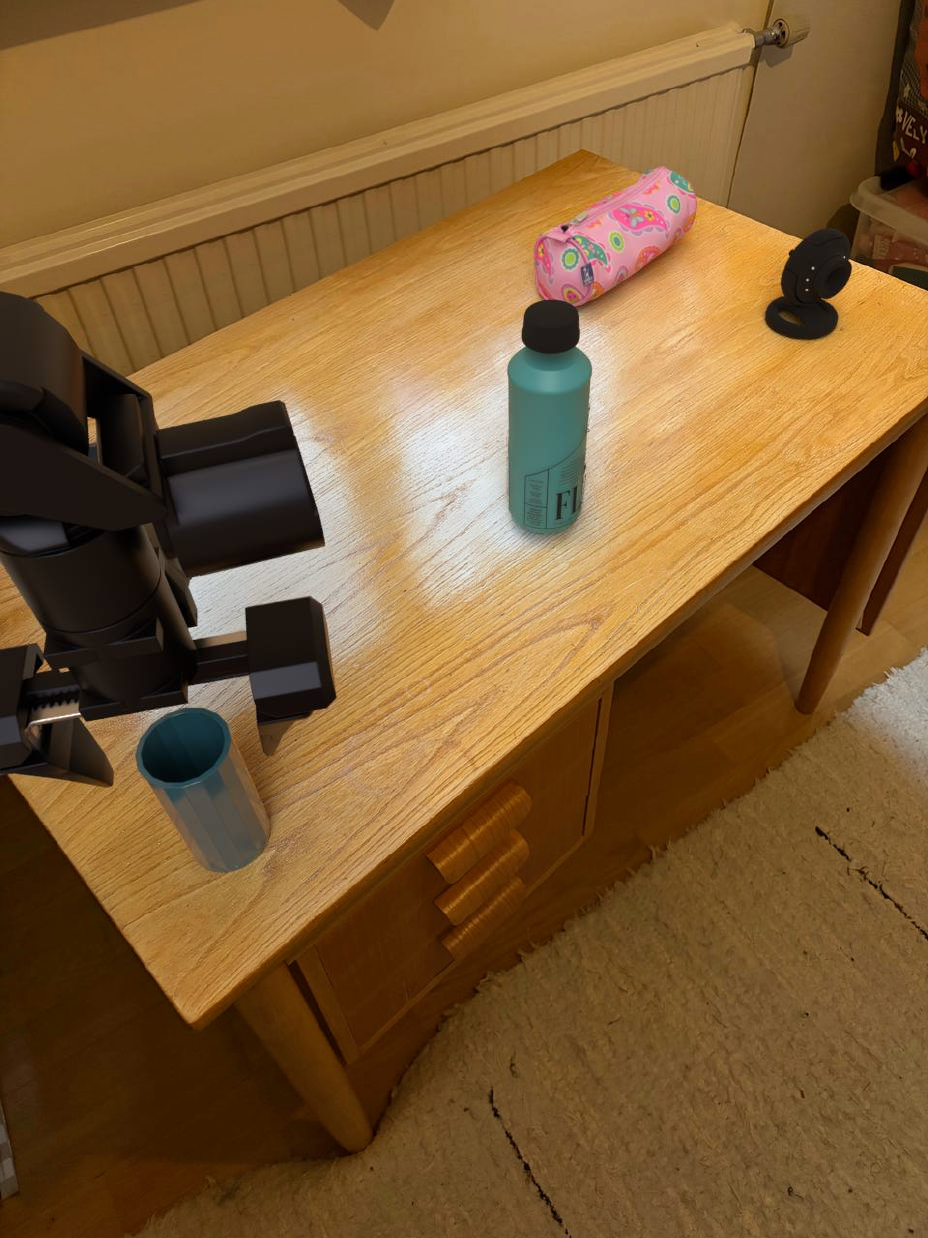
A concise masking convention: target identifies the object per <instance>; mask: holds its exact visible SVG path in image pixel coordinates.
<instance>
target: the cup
mask: <svg viewBox="0 0 928 1238" xmlns="http://www.w3.org/2000/svg"><path fill="white" fill-rule="evenodd" d="M134 755H135V762H136V768H137V771H138V773H139V774H140V776H141V778H142V780H143V781H144V782H145V785H147V787H148V788H149V790H150V792H151V793H152V795H153V796H154V799H155V800H156V802H157V803H158V805H159V806H160V808H161V810H162V811H163V812H164V814H165V816H166V817H167V819H168V821H169V822H170V824H171V825H172V827H173V828H174V830H175V831H176V833H177V834H178V836H179V838H180V840H181V841H182V842H183V844H184V846H185V847H186V849H187V851H188V852H189V854H190V855H191V856H192V858H193V859H194V860H195V862H196V863H198V865H200V866H201V867H202V868H204V869H206V870H208V871H211V872H214V873H231V872H235V871H238V870H241V869H243V868H245V867H247V866H248V865H250V864H251V863H253V862H254V861H255V860H256V859H258V858H259V856H260V855H261V854H262V853H263V851H264V850H265V848H266V846H267V844H268V842H269V839H270V836H271V822H270V817H269V816H268V812H267V810H266V807H265V805H264V803H263V800H262V798H261V796H260V794H259V791H258V789H257V786H256V785H255V782H254V780H253V777H252V776H251V772H250V771H249V769H248V766H247V765H246V764H247V763H246V762H245V760H244V757H243V755H242V753H241V750H240V749H239V746H238V744H237V742H236V739H235V737H234V735H233V733H232V729H231V728H230V725H229V724H228V722H227V721H226V720H225V719H224V718H223V717H222V716H221V715H220V714H219V713H218V712H215V711H213V710H210V709H207V708H205V707H183V708H178V709H175V710H173V711H169V712H167V713H165V714H164V715H162V716H161V717H159V718H158V719H157V720H155V721H154V722H152V723H151V724H149V726H148V728H147V729H146V730H145V731H144V733H143V734H142V735H141V737H140V738H139V740H138V743H137V748H136V750H135V754H134Z"/></svg>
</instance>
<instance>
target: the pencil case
mask: <svg viewBox="0 0 928 1238" xmlns="http://www.w3.org/2000/svg"><path fill="white" fill-rule="evenodd" d="M697 208H698V199H697V195H696V191H695V188H694V187H693V185H692V184H691V182H690V181H689V180H688V179H687V178H686V177H684V176H683V175H681V174H679V173H678V172H676V171H674V170H670V169H669V168H667V167H666V166H661V165H660V166H658V167H656V168H651V169H649V170H646V171H644V172H643V173H642V174H641V175H640V176H639V177H638V179H637V181H636V183H634V184H632V185H629V186H627V187H625V188H623V189H622V190H620V191H619V192H616V193H613V194H610V195H607V196H606V197H604V198H602V199H600V200H598V201H596V202H595V203H594V204H592V205H591V206H589V207H588V208H586V209H585V210H584V211H582V212H580V213H578V214H577V215H576V216H575V217H574V218H572V219H570V221H567V222H562V223H560V224H558V225H556V226H553V227H551V228H549V229H547V230H545V231H544V232H542V233H540V235H539V236H538V237H537V239H536V240H535V242H534V246H533V247H534V248H533V260H534V261H533V263H534V278H535V285H536V287H537V291H538V292H539V294H540V295H541V297H542V298H543V300H549V299H555V300H562V301H565V302H568V303H570V304H572V305H573V306H575V307H576V308H577V307H579V306H582V305H585V304H586V303H588V302H591V301H593V300H596V299H597V298H599V297H601V296H602V295H603V294H605V293H607V292H609V291H610V290H612V289H613V288H614V287H616V286H618V285H619V284H620V283H622V282H624V281H625V280H627V279H629V278H630V277H632V276H633V275H635V274H636V273H637V272H639V271H640V270H642V268H644V267H645V266H646V265H648V264H649V263H651V262H652V261H653V260H654V259H656V258H657V257H659V255H661V254H663V253H664V252H665V251H666V250H667V249H669V248H670V247H671V246H672V245H674V244H675V243H676V242H678V241H681V240H682V239H683V238H684V237H685V236H687V234H688V233H689V232H690V231H691V229H692V227H693V226H694V224H695V220H696V216H697Z"/></svg>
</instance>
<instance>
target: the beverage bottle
mask: <svg viewBox="0 0 928 1238" xmlns="http://www.w3.org/2000/svg"><path fill="white" fill-rule="evenodd" d="M520 337H521V338H520V339H521V342H522V344H523V345H524V346H523V347H522V348H520V349H519V350H518V351H517V352H515V354H513V356H511V358H510V359H509V361H508V364H507V367H506V368H507V370H506V372H507V379H508V380H507V382H508V384H507V385H508V387H507V388H508V389H507V390H508V393H507V395H508V396H507V397H508V400H507V401H508V404H507V405H508V406H507V407H508V409H507V410H508V411H507V412H508V433H507V435H506V436H507V438H506V441H507V451H505V452H506V453H505V454H507V456H506V461H505V462H506V463H505V465H506V469H507V470H506V473H505V474H506V491H507V496H508V498H506V501H508V506H506V507H507V509H508V512H509V513H510V515H511V518H512V520H513V521H514V522H515V523H516V524H517V525H518V526H519V527H521V528H523V529H524V530H526V531H529V532H532V533H536V534H556V533H559V532H563V531H565V530H567V529H569V528H570V527H572V526H573V525H574V524H575V523H576V521H577V520H578V518H579V517H580V515H582V511H583V509H584V508H582V506H583V505H584V495H585V490H586V488H585V485H586V480H587V479H586V476H587V473H586V470H587V469H586V468H587V463H586V458H587V440H588V433H589V432H590V429H589V428H588V427H589V426H590V420H589V418H590V416H591V413H590V412H591V404H592V402H591V400H590V398H591V396H590V394H591V393H590V392H591V380H592V376H593V365H592V361H591V360H590V358H589V357H588V355H586V354H585V353H584V351H582V350H581V349H580V348H578V346H577V345H578V344H579V342H580V339H581V329H580V313H579V310H578V308H577V306H576V307H575V306H573V305H572V304H570V303H568V302H565V301H562V300H555V299H549V300H545V299H543V300H538V301H536V302H534V303H532V304H530V305H529V306H528V307H527V308H526V309H525V310H524V312H523V318H522V328H521V335H520Z"/></svg>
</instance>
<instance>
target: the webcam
mask: <svg viewBox="0 0 928 1238" xmlns="http://www.w3.org/2000/svg"><path fill="white" fill-rule="evenodd" d="M850 257H851V242H850V239H849V238H848V237H847V234H845V233H844V232H843V231H841V229H840V230H839V229H834V228H831V227H826V228H820V229H818V230H815V231H813V232H811V233H810V234H809V235H808V236H807V237H805V238H803V239H802V240H801V241H800V242H799V243H798V244H797V245H796V246H795V247H794V249H793V248H792V249H790V250H789V251H788V258H787V260H786V262H785V264H784V266H783V269H782V272H781V277H780V288H781V293H782V296H779V297H777V298H775V299H774V300H772V301H771V302H769V303H768V305H767V307H766V309H765V312H764V313H765V314H764V315H765V316H764V318H765V322H766V324H767V325H768V326H769V327H770V328H771V329H772V331H775V332H776V333H778V334H780V335H781V336H784V337H788V338H791V339H796V340H797V339H798V340H816V339H821V338H824V337H826V336H828V335H830V334H831V333H833V331H835V329H836V328H837V327H838V323H839V313H838V311H837V309H836V308H835V307H834V305H832V304H831V303H830V302H828V301H827V300H829V299H832V298H834V297H836V295H838V294H839V293H841V291H842V290H844V288H845V287H846V285H847V284H848V282H849V280H850V278H851V276H852V271H853V265H852V263H851V262H850ZM785 310H787V311H790V312H791V313H793V314H794V315H795V316H797V317H798V318H799V319H800V320H801V322H802V324H801V323H795V322H791V321H789V320H788V319H786V318H784V317H782V315H781V314H780V313H781V312H783V311H785Z"/></svg>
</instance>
